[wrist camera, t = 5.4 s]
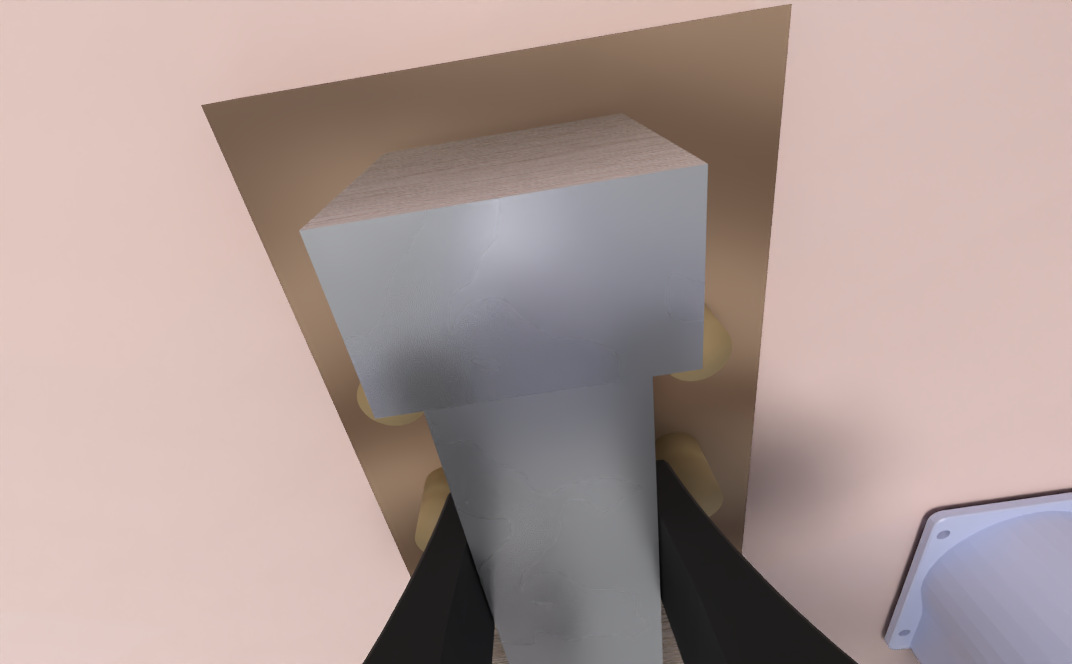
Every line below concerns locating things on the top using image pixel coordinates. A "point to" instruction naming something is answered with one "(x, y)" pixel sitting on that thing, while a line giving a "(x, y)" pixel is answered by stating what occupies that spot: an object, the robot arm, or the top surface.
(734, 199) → the peg board
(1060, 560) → the robot arm
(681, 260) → the grey i-beam block
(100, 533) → the top surface
